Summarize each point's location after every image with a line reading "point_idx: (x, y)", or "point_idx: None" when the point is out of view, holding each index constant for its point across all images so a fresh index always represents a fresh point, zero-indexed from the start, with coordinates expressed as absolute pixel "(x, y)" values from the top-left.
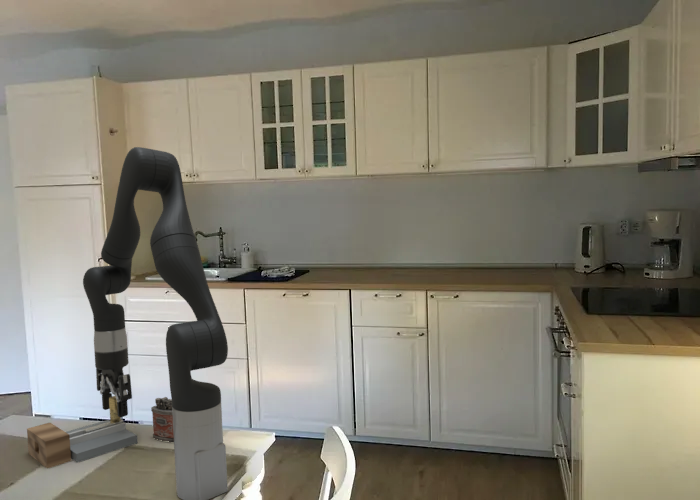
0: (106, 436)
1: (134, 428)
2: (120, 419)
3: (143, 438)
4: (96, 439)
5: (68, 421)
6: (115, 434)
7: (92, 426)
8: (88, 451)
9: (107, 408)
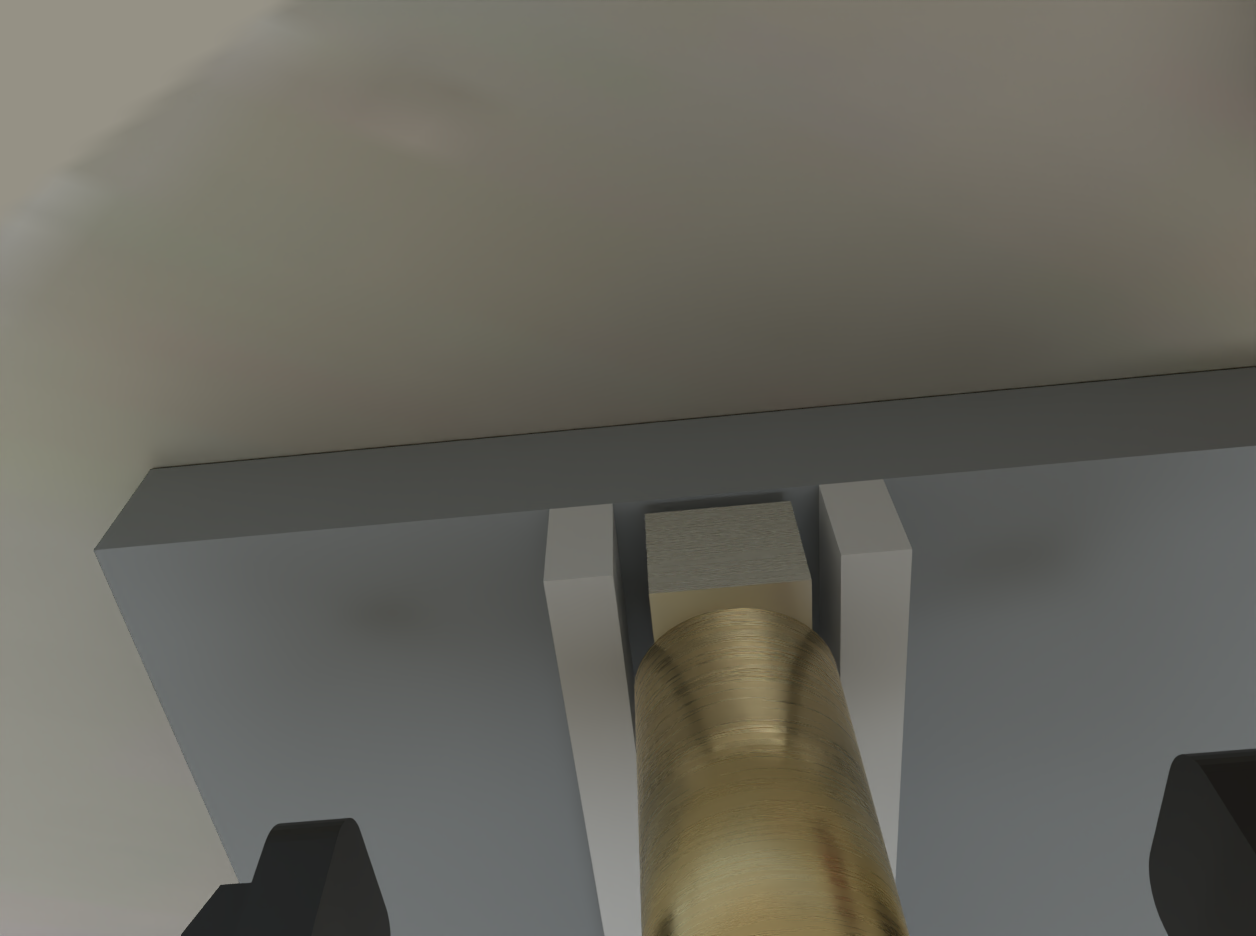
0: (943, 768)
1: (519, 143)
2: (816, 650)
3: (1177, 211)
4: (929, 869)
5: None
6: (984, 666)
7: (303, 790)
8: None
9: (369, 899)
